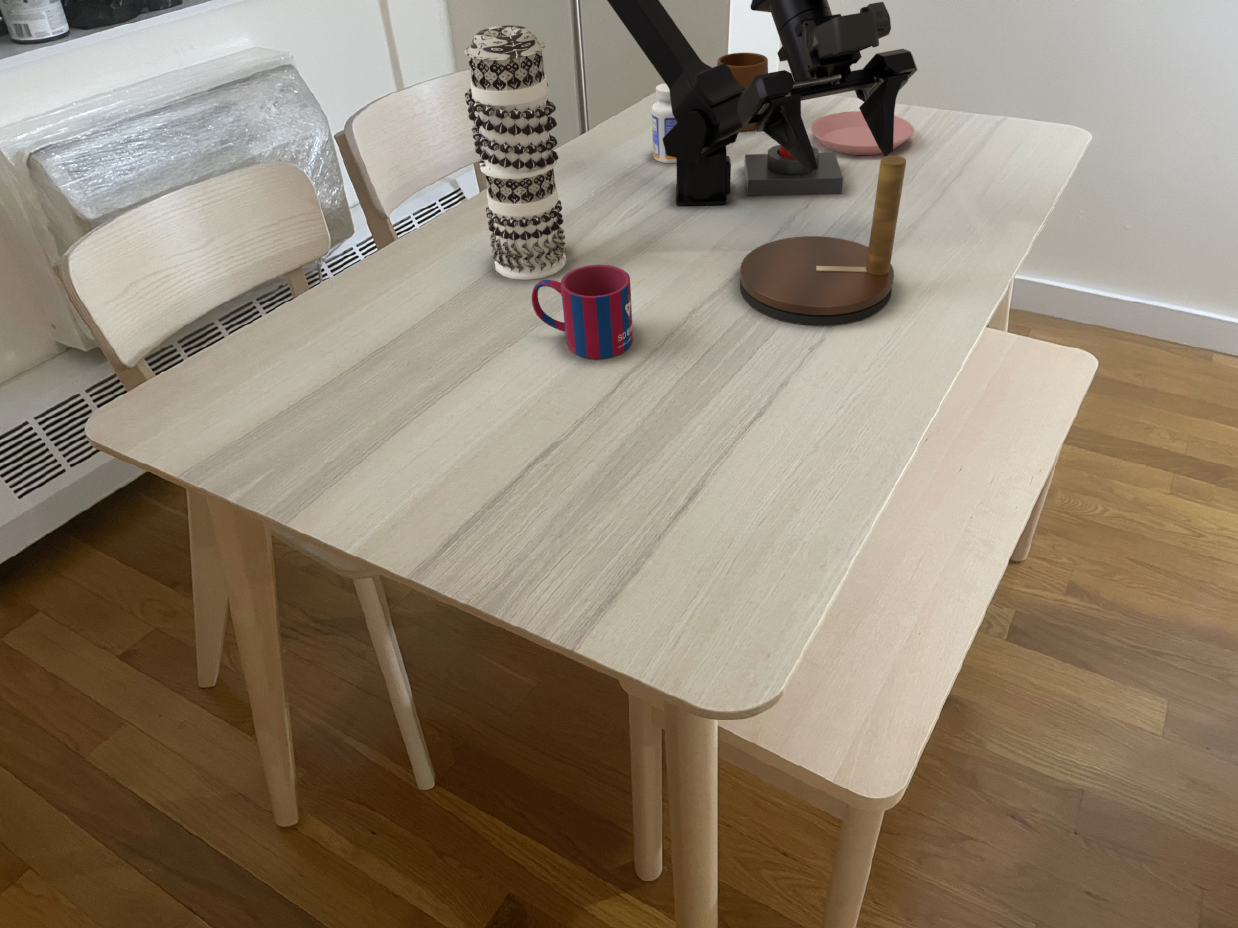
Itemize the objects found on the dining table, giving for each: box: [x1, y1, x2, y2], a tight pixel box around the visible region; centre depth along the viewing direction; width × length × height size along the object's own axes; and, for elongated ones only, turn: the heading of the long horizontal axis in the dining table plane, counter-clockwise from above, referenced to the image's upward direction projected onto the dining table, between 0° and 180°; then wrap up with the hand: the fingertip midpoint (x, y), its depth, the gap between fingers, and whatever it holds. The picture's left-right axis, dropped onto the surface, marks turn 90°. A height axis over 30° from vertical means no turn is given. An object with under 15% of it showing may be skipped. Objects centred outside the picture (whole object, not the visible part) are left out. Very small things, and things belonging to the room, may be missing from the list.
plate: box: [810, 110, 915, 156], centre depth 127 cm, size 14×14×2 cm
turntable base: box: [739, 279, 893, 327], centre depth 95 cm, size 16×16×1 cm
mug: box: [716, 52, 769, 133], centre depth 132 cm, size 12×8×9 cm, turn 142°
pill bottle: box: [651, 82, 677, 164], centre depth 124 cm, size 5×5×10 cm
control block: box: [743, 144, 844, 197], centre depth 117 cm, size 12×9×4 cm
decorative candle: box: [464, 24, 568, 281], centre depth 96 cm, size 9×9×25 cm
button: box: [779, 144, 794, 158], centre depth 115 cm, size 4×4×2 cm
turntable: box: [739, 154, 907, 315], centre depth 91 cm, size 16×16×13 cm
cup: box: [531, 264, 634, 360], centre depth 88 cm, size 7×10×7 cm
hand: (852, 162), depth 93 cm, fingers open, 9 cm apart
